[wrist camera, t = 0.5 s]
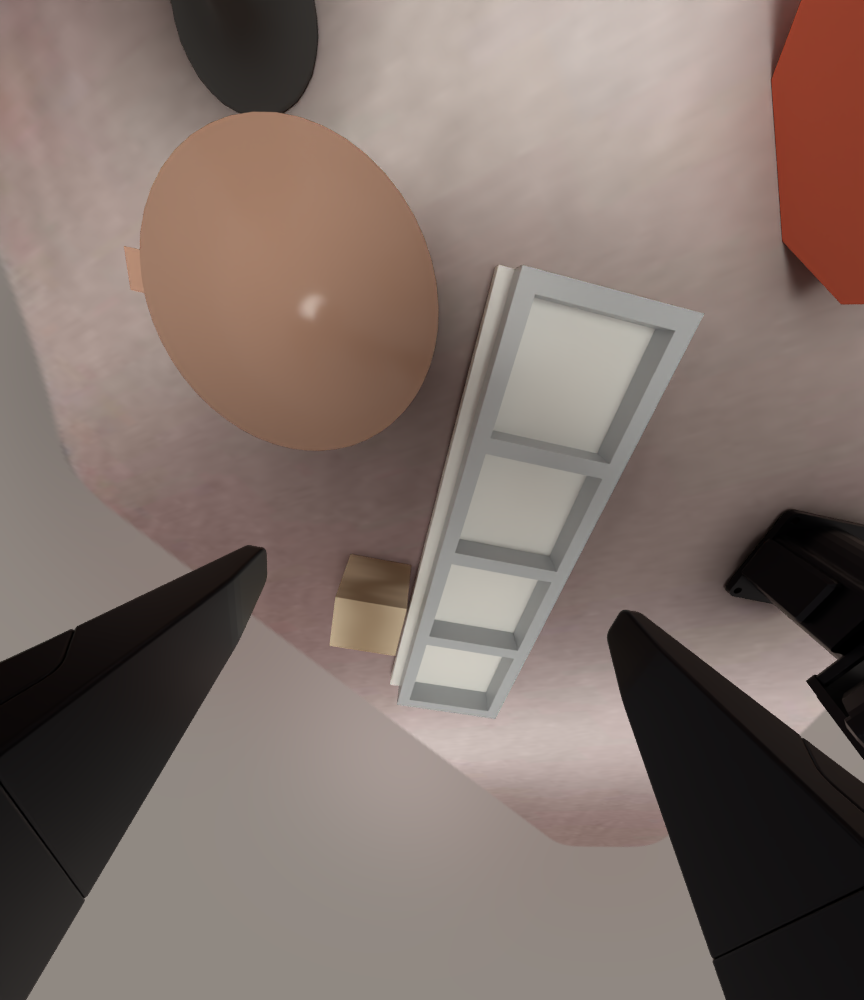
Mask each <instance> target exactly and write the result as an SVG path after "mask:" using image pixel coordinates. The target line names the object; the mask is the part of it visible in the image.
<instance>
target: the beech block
mask: <svg viewBox="0 0 864 1000" xmlns="http://www.w3.org/2000/svg"><path fill="white" fill-rule="evenodd" d="M410 572H411V565H408V564H403V563H397V562H392V561H386V560H381V559H375V558H370V557H364V556H359V555H353V554H351V555H350V557H349V560H348V563H347V566H346V569H345V572H344V574H343V577H342V580H341V583H340V586H339V589H338V592H337V594H336V598H335V606H334V614H333V622H332V630H331V638H330V646H335V647H341V648H348V649H354V650H360V651H367V652H373V653H380V654H386V655H392V656H395V654H396V650H397V646H398V642H399V638H400V634H401V630H402V626H403V622H404V618H405V614H406V610H407V602H408V592H409V582H410Z"/></svg>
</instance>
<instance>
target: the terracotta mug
mask: <svg viewBox="0 0 864 1000" xmlns="http://www.w3.org/2000/svg"><path fill="white" fill-rule="evenodd" d="M124 250H125V256H126V263H127V269H128V276H129V282H130V288H131V290H134V291H138V292H142V293H145V298H146V302H147V305H148V308H149V311H150V314H151V318H152V321H153V323H154V325H155V328H156V330H157V332H158V335H159V337H160V339H161V342H162V343H163V345H164V347H165V349H166V351H167V353H168V354H169V356H170V358H171V360H172V361H173V363H174V364H175V366H176V367H177V369H178V370H179V372H180V373H181V374H182V376H183V377H184V379H185V380H186V381H187V382H188V383H189V385H190V386H191V387H192V388H193V389H194V391H195V392H196V393H197V394H198V395H199V396H200V397H201V398H202V399H203V400H204V401H205V402H206V403H207V404H208V405H209V406H210V407H211V408H213V409H214V410H215V411H216V412H217V413H219V414H220V415H221V416H222V417H224V418H225V419H226V420H228V421H229V422H231V423H232V424H234V425H235V426H237V427H238V428H240V429H242V430H244V431H245V432H247V433H249V434H251V435H253V436H255V437H257V438H260V439H262V440H265V441H267V442H270V443H272V444H276V445H280V446H283V447H287V448H292V449H299V450H309V451H324V450H334V449H340V448H344V447H348V446H352V445H355V444H357V443H360V442H363V441H365V440H367V439H369V438H371V437H373V436H375V435H376V434H378V433H380V432H381V431H383V430H384V429H385V428H387V427H388V426H389V425H391V424H392V423H393V422H394V421H395V420H396V419H397V418H398V417H399V416H400V415H401V414H402V413H403V412H404V411H405V410H406V409H407V407H408V406H409V405H410V403H411V402H412V401H413V399H414V398H415V396H416V394H417V393H418V391H419V389H420V387H421V386H422V384H423V382H424V379H425V377H426V375H427V372H428V370H429V367H430V364H431V361H432V357H433V353H434V350H435V344H436V337H437V330H438V295H437V284H436V279H435V274H434V269H433V265H432V260H431V257H430V254H429V251H428V248H427V245H426V242H425V239H424V236H423V234H422V232H421V230H420V228H419V225H418V223H417V221H416V219H415V217H414V215H413V213H412V211H411V210H410V208H409V206H408V205H407V203H406V201H405V200H404V198H403V196H402V195H401V193H400V192H399V191H398V189H397V188H396V187H395V185H394V184H393V183H392V182H391V180H390V179H389V178H388V176H387V175H386V174H385V173H384V172H383V171H382V170H381V169H380V168H379V167H378V166H377V165H376V164H375V163H374V162H373V161H372V160H371V159H370V158H369V157H368V156H367V155H366V154H365V153H364V152H363V151H361V150H360V149H359V148H357V147H356V146H355V145H354V144H352V143H351V142H350V141H348V140H347V139H346V138H344V137H342V136H340V135H339V134H337V133H335V132H333V131H332V130H330V129H328V128H326V127H325V126H322V125H320V124H317V123H315V122H312V121H309V120H307V119H304V118H301V117H298V116H293V115H288V114H283V113H278V112H248V113H242V114H236V115H230V116H227V117H225V118H222V119H219V120H217V121H214V122H211V123H209V124H208V125H206V126H204V127H203V128H201V129H199V130H198V131H196V132H195V133H193V134H191V135H190V136H189V137H188V138H187V139H186V140H185V141H184V142H183V143H181V144H180V145H179V146H178V147H177V148H176V149H175V150H174V151H173V153H172V154H171V155H170V157H169V158H168V159H167V161H166V162H165V163H164V165H163V166H162V167H161V169H160V171H159V173H158V175H157V177H156V179H155V181H154V183H153V185H152V187H151V190H150V193H149V196H148V199H147V202H146V205H145V208H144V214H143V220H142V225H141V231H140V249H136V248H131V247H126V246H124Z"/></svg>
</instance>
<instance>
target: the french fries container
mask: <svg viewBox="0 0 864 1000" xmlns="http://www.w3.org/2000/svg"><path fill="white" fill-rule="evenodd" d="M771 82H772V96H773V111H774V125H775V140H776V154H777V169H778V183H779V198H780V212H781V227H782V241H783V242H784V243H785V244H786V245H787V247H788V248H789V249H790V250H791V251H792V252H793V253H794V254H795V255H796V256H797V257H798V258H799V259H800V261H801V262H802V263H803V264H804V265H805V266H806V267H807V268H808V269H809V270H810V271H811V272H812V273H813V274H814V276H815V277H816V278H817V279H818V280H819V281H820V282H821V283H822V284H823V285H824V286H825V287H826V288H827V290H828V291H829V292H830V293H831V294H832V295H833V296H834V297H835V298H836V299H837V300H838V301H839V302H840V304H864V0H801V2H800V5H799V8H798V10H797V13H796V16H795V18H794V21H793V24H792V26H791V29H790V32H789V34H788V37H787V40H786V42H785V45H784V48H783V50H782V53H781V56H780V58H779V61H778V64H777V66H776V69H775V71H774V74H773V77H772V79H771Z"/></svg>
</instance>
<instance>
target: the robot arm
mask: <svg viewBox="0 0 864 1000" xmlns="http://www.w3.org/2000/svg"><path fill="white" fill-rule="evenodd" d="M266 578H267V553H266V550H265V549H264V548H263V547H257V546H252V545H247V546H244V547H242V548H240V549H238V550H236V551H234V552H231V553H229V554H227V555H225V556H223V557H221V558H219V559H217V560H215V561H213V562H211V563H208V564H206V565H204V566H202V567H200V568H198V569H196V570H194V571H192V572H190V573H187V574H185V575H183V576H181V577H179V578H177V579H175V580H173V581H171V582H169V583H167V584H164V585H162V586H160V587H158V588H156V589H154V590H152V591H150V592H148V593H146V594H144V595H141V596H139V597H137V598H135V599H133V600H131V601H129V602H127V603H125V604H123V605H121V606H118V607H116V608H115V609H112V610H110V611H108V612H106V613H104V614H102V615H100V616H98V617H95V618H93V619H91V620H89V621H87V622H85V623H83V624H81V625H79V626H77V627H76V628H75V630H73V629H70V630H68V631H66V632H64V633H62V634H60V635H57V636H55V637H53V638H51V639H49V640H47V641H45V642H43V643H40V644H38V645H36V646H34V647H32V648H30V649H27V650H25V651H23V652H21V653H19V654H17V655H14V656H12V657H10V658H8V659H6V660H3V661H1V662H0V1000H26V999H27V997H28V996H29V994H30V992H31V991H32V989H33V987H34V986H35V984H36V982H37V981H38V979H39V977H40V975H41V974H42V972H43V970H44V969H45V967H46V965H47V964H48V962H49V960H50V959H51V957H52V955H53V954H54V952H55V950H56V949H57V947H58V945H59V944H60V942H61V940H62V938H63V937H64V935H65V933H66V932H67V930H68V928H69V927H70V925H71V923H72V922H73V920H74V918H75V916H76V915H77V913H78V912H79V910H80V908H81V907H82V905H83V903H84V901H85V899H84V898H85V897H87V896H88V894H89V893H90V891H91V889H92V887H93V886H94V884H95V882H96V881H97V879H98V877H99V876H100V874H101V872H102V870H103V869H104V867H105V865H106V864H107V862H108V861H109V859H110V857H111V856H112V854H113V852H114V851H115V849H116V847H117V845H118V843H119V842H120V840H121V839H122V837H123V835H124V834H125V832H126V830H127V829H128V827H129V825H130V824H131V822H132V820H133V819H134V817H135V815H136V814H137V812H138V810H139V808H140V807H141V805H142V803H143V802H144V800H145V798H146V797H147V795H148V793H149V792H150V790H151V788H152V786H153V785H154V783H155V782H156V780H157V778H158V777H159V775H160V773H161V772H162V770H163V768H164V767H165V765H166V763H167V762H168V760H169V758H170V756H171V755H172V753H173V751H174V750H175V748H176V746H177V745H178V743H179V741H180V740H181V738H182V736H183V735H184V733H185V731H186V730H187V728H188V726H189V725H190V723H191V721H192V719H193V718H194V716H195V714H196V713H197V711H198V709H199V708H200V706H201V704H202V703H203V701H204V699H205V698H206V696H207V694H208V693H209V691H210V689H211V688H212V686H213V684H214V682H215V681H216V679H217V677H218V676H219V674H220V672H221V670H222V669H223V667H224V665H225V664H226V662H227V661H228V659H229V657H230V656H231V654H232V652H233V651H234V649H235V647H236V645H237V643H238V642H239V640H240V637H241V635H242V633H243V631H244V629H245V627H246V624H247V622H248V620H249V618H250V616H251V614H252V611H253V609H254V607H255V605H256V603H257V600H258V598H259V596H260V594H261V592H262V589H263V587H264V585H265V582H266ZM725 590H726V591H727V592H728V593H729V594H730V595H731V596H735V597H740V598H745V599H750V600H756V601H761V602H766V603H772V604H774V605H775V606H776V607H778V608H779V609H780V610H781V611H782V612H783V613H785V614H786V615H787V616H788V617H789V618H790V619H791V620H793V621H794V622H795V623H796V624H797V625H798V626H799V627H801V628H802V629H803V630H804V631H805V632H806V633H808V634H809V635H810V636H811V637H812V638H813V639H814V640H816V641H817V642H818V643H819V644H820V645H821V646H822V647H824V648H825V649H826V650H827V651H828V652H829V653H830V654H832V655H833V656H834V657H835V658H836V659H837V661H835V662H834V663H833V664H831V665H830V666H829V667H827V668H826V669H825V670H823V671H822V672H821V673H819V674H818V675H813V676H812V677H810V678H809V679H808V680H806V682H807V683H808V685H809V686H810V687H811V689H812V690H813V691H814V693H815V694H816V695H817V698H818V699H819V701H820V702H821V703H822V705H823V706H824V707H825V709H826V710H827V711H828V712H829V714H830V715H831V717H832V718H833V719H834V721H835V722H836V723H837V725H838V726H839V727H840V729H841V730H842V731H843V733H844V734H845V735H846V737H847V738H848V739H849V741H850V742H851V743H852V745H853V746H854V747H855V749H856V750H857V751H858V753H859V754H860V755H861V757H862V758H863V759H864V525H861V524H857V523H852V522H847V521H843V520H838V519H834V518H829V517H825V516H820V515H815V514H811V513H806V512H802V511H797V510H790V511H787V512H786V513H784V514H783V515H782V516H781V517H780V519H779V520H778V521H777V523H776V524H775V525H774V526H773V528H772V529H771V530H770V531H769V533H768V534H767V535H766V536H765V538H764V539H763V540H762V541H761V543H760V544H759V545H758V546H757V548H756V549H755V550H754V551H753V553H752V554H751V555H750V556H749V558H748V559H747V560H746V561H745V563H744V564H743V565H742V566H741V568H740V569H739V570H738V571H737V573H736V574H735V575H734V576H733V578H732V579H731V580H730V582H729V583H728V584H727V585H726V587H725ZM607 641H608V645H609V649H610V654H611V658H612V662H613V666H614V670H615V674H616V678H617V682H618V686H619V690H620V694H621V698H622V701H623V704H624V707H625V710H626V713H627V716H628V719H629V722H630V725H631V728H632V730H633V733H634V736H635V739H636V742H637V745H638V748H639V751H640V753H641V756H642V759H643V762H644V765H645V768H646V771H647V774H648V776H649V779H650V782H651V785H652V788H653V791H654V794H655V797H656V799H657V802H658V805H659V808H660V811H661V814H662V817H663V820H664V822H665V825H666V828H667V831H668V834H669V837H670V840H671V842H672V845H673V848H674V851H675V854H676V857H677V860H678V863H679V866H680V868H681V871H682V874H683V877H684V880H685V883H686V886H687V888H688V891H689V894H690V897H691V900H692V903H693V906H694V909H695V912H696V914H697V917H698V920H699V923H700V926H701V929H702V931H703V935H704V937H705V940H706V943H707V946H708V949H709V952H710V955H711V957H712V958H713V964H714V967H715V970H716V973H717V976H718V979H719V981H720V984H721V987H722V990H723V992H724V995H725V999H726V1000H864V783H862V782H861V781H860V780H858V779H857V778H856V777H854V776H853V775H852V774H850V773H849V772H848V771H846V770H845V769H844V768H842V767H841V766H840V765H838V764H837V763H836V762H834V761H833V760H832V759H830V758H829V757H828V756H827V755H825V754H824V753H823V752H821V751H820V750H818V749H817V748H816V747H815V746H813V745H812V744H811V743H810V742H808V741H807V740H805V739H804V738H801V736H800V735H799V734H798V733H796V732H795V731H794V730H793V729H791V728H790V727H789V726H787V725H786V724H785V723H783V722H782V721H781V720H780V719H778V718H777V717H776V716H774V715H773V714H772V713H770V712H769V711H768V710H767V709H765V708H764V707H763V706H761V705H760V704H759V703H757V702H756V701H755V700H753V699H752V698H751V697H750V696H748V695H747V694H746V693H744V692H743V691H742V690H740V689H739V688H738V687H737V686H735V685H734V684H733V683H731V682H730V681H729V680H727V679H726V678H725V677H724V676H722V675H721V674H720V673H718V672H717V671H716V670H714V669H713V668H712V667H711V666H709V665H708V664H707V663H705V662H704V661H703V660H701V659H700V658H699V657H698V656H696V655H695V654H694V653H692V652H691V651H690V650H688V649H687V648H686V647H684V646H683V645H682V644H681V643H679V642H678V641H677V640H675V639H674V638H673V637H671V636H670V635H669V634H668V633H666V632H665V631H664V630H662V629H661V628H660V627H658V626H657V625H656V624H655V623H653V622H652V621H651V620H649V619H648V618H647V617H645V616H644V615H643V614H641V613H639V612H636V611H630V610H623V611H621V612H620V613H619V614H618V616H617V618H616V619H615V621H614V623H613V624H612V626H611V627H610V629H609V631H608V634H607Z"/></svg>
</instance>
